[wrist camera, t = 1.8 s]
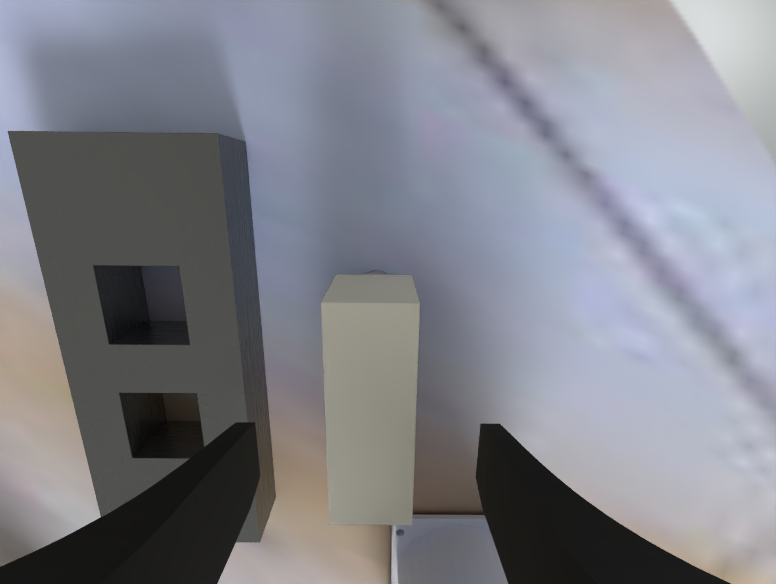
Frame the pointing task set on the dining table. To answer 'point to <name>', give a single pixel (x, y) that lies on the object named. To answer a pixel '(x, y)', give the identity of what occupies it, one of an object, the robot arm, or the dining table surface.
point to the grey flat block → (128, 304)
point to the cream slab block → (370, 397)
